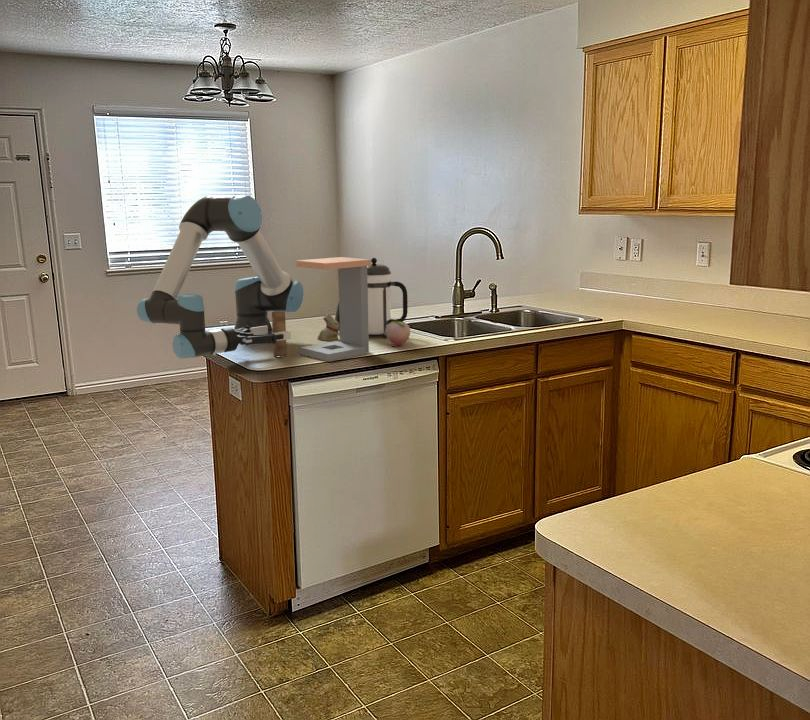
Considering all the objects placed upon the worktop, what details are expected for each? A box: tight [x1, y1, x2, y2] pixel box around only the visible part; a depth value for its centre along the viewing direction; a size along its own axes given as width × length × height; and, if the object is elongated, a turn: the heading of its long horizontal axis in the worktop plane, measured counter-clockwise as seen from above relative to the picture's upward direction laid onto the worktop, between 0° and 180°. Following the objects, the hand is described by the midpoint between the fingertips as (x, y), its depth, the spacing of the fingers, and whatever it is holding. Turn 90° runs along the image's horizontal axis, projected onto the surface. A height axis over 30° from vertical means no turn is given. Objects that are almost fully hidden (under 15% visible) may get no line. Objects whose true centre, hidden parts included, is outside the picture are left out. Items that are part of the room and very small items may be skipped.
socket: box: [295, 256, 372, 362], centre depth 252 cm, size 16×19×32 cm
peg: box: [271, 311, 288, 357], centre depth 251 cm, size 4×4×15 cm
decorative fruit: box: [385, 318, 411, 347], centre depth 267 cm, size 9×8×10 cm
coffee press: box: [367, 257, 409, 339], centre depth 284 cm, size 17×16×30 cm
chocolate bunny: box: [317, 313, 340, 341], centre depth 280 cm, size 6×8×10 cm
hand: (278, 332), depth 250 cm, fingers open, 13 cm apart
